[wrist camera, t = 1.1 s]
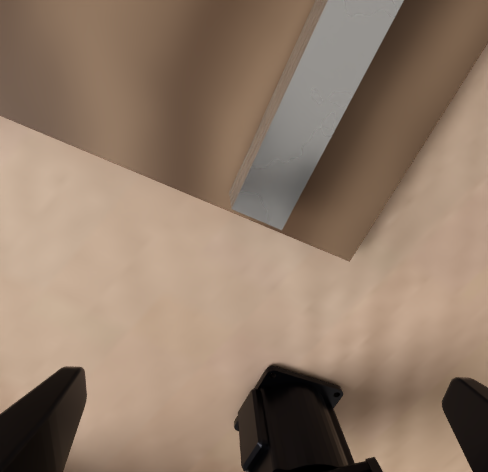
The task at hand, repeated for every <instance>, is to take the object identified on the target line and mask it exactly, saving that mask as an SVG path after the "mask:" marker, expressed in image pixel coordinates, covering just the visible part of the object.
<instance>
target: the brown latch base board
mask: <svg viewBox="0 0 488 472" xmlns="http://www.w3.org/2000/svg"><path fill="white" fill-rule="evenodd" d="M314 2H315V0H0V116H2V117H5V118H7V119H9V120H12V121H14V122H17V123H19V124H21V125H24V126H26V127H29V128H31V129H33V130H36V131H38V132H41V133H43V134H45V135H48V136H50V137H53V138H55V139H57V140H60V141H62V142H65V143H67V144H69V145H72V146H74V147H77V148H79V149H81V150H84V151H86V152H88V153H91V154H93V155H96V156H98V157H100V158H103V159H105V160H108V161H110V162H112V163H115V164H117V165H120V166H122V167H124V168H127V169H129V170H132V171H134V172H136V173H139V174H141V175H144V176H146V177H148V178H151V179H153V180H156V181H158V182H160V183H163V184H165V185H167V186H170V187H172V188H175V189H177V190H179V191H182V192H184V193H187V194H189V195H191V196H194V197H196V198H199V199H201V200H203V201H206V202H208V203H211V204H213V205H215V206H218V207H220V208H223V209H225V210H227V211H230V212H232V213H235V214H237V215H239V216H242V217H244V218H247V219H249V220H251V221H254V222H256V223H258V224H261V225H263V226H266V227H268V228H270V229H273V230H275V231H278V232H280V233H282V234H285V235H287V236H290V237H292V238H294V239H297V240H299V241H302V242H304V243H306V244H309V245H311V246H314V247H316V248H318V249H321V250H323V251H326V252H328V253H330V254H333V255H335V256H338V257H340V258H342V259H345V260H347V261H349V262H350V260H351V259H352V257H353V255H354V254H355V252H356V251H357V249H358V248H359V246H360V244H361V243H362V241H363V240H364V238H365V236H366V235H367V233H368V232H369V230H370V229H371V227H372V225H373V224H374V222H375V221H376V219H377V217H378V216H379V214H380V213H381V211H382V210H383V208H384V206H385V205H386V203H387V202H388V200H389V198H390V197H391V195H392V194H393V192H394V191H395V189H396V187H397V186H398V184H399V183H400V181H401V179H402V178H403V176H404V175H405V173H406V172H407V170H408V168H409V167H410V165H411V164H412V162H413V160H414V159H415V157H416V156H417V154H418V152H419V151H420V149H421V148H422V146H423V145H424V143H425V141H426V140H427V138H428V137H429V135H430V133H431V132H432V130H433V129H434V127H435V126H436V124H437V122H438V121H439V119H440V118H441V116H442V114H443V113H444V111H445V110H446V108H447V107H448V105H449V103H450V102H451V100H452V99H453V97H454V95H455V94H456V92H457V91H458V89H459V88H460V86H461V84H462V83H463V81H464V80H465V78H466V76H467V75H468V73H469V72H470V70H471V69H472V67H473V65H474V64H475V62H476V61H477V59H478V57H479V56H480V54H481V53H482V51H483V50H484V48H485V46H486V45H487V43H488V0H404V1H403V3H402V5H401V7H400V9H399V10H398V12H397V14H396V16H395V18H394V20H393V22H392V24H391V26H390V27H389V29H388V31H387V33H386V35H385V37H384V39H383V41H382V43H381V44H380V46H379V48H378V50H377V52H376V54H375V56H374V58H373V59H372V61H371V63H370V65H369V67H368V69H367V71H366V73H365V75H364V76H363V78H362V80H361V82H360V84H359V86H358V88H357V90H356V92H355V93H354V95H353V97H352V99H351V101H350V103H349V105H348V107H347V108H346V110H345V112H344V114H343V116H342V118H341V120H340V122H339V124H338V125H337V127H336V129H335V131H334V133H333V135H332V137H331V139H330V141H329V142H328V144H327V146H326V148H325V150H324V152H323V154H322V156H321V157H320V159H319V161H318V163H317V165H316V167H315V169H314V171H313V173H312V174H311V176H310V178H309V180H308V182H307V184H306V186H305V188H304V190H303V191H302V193H301V195H300V197H299V199H298V201H297V203H296V205H295V206H294V208H293V210H292V212H291V214H290V216H289V218H288V220H287V222H286V223H285V225H284V227H283V229H282V230H280V229H278V228H275V227H273V226H271V225H268V224H266V223H263V222H261V221H259V220H256V219H254V218H252V217H249V216H247V215H244V214H242V213H240V212H237V211H235V210H233V209H231V202H230V196H229V191H230V189H231V187H232V184H233V182H234V180H235V178H236V175H237V173H238V171H239V169H240V167H241V164H242V162H243V160H244V158H245V156H246V153H247V151H248V149H249V147H250V144H251V142H252V140H253V138H254V136H255V133H256V131H257V129H258V127H259V124H260V122H261V120H262V118H263V116H264V113H265V111H266V109H267V107H268V104H269V102H270V100H271V98H272V96H273V93H274V91H275V89H276V87H277V84H278V82H279V80H280V78H281V76H282V73H283V71H284V69H285V67H286V64H287V62H288V60H289V58H290V56H291V53H292V51H293V49H294V47H295V44H296V42H297V40H298V38H299V36H300V33H301V31H302V29H303V27H304V24H305V22H306V20H307V18H308V16H309V13H310V11H311V9H312V7H313V4H314Z"/></svg>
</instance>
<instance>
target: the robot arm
mask: <svg viewBox="0 0 488 472" xmlns="http://www.w3.org/2000/svg"><path fill="white" fill-rule="evenodd" d="M271 373H274V374H271ZM342 396H343V391H342V389H341V387H340V386H337V385H334V384H331V383H328V382H324V381H321V380H318V379H314V378H311V377H308V376H305V375H301V374H298V373H295V372H291V371H288V370H285V369H282V368H278V367H275V366H270V367H268V368H267V369H266V370H265V372H264V373H263V375H262V376H261V378H260V380H259V381H258V383H257V385H256V386H255V388H254V389H253V390H251V392H250V393H249V395H248V397H247V398H246V400H245V402H244V403H243V405H242V406H241V408H240V410H239V411H238V416H237V417H236V419H235V421H234V428H235V430H237V431H239V437H240V451H241V466H242V468H243V470H244V471H246V472H383V471H382V469H381V467H380V466H379V464H378V462H377V460H376V459H375V457H372V458H368V459H366V461H364V462H359V463H354V460H353V458H352V455H351V452H350V450H349V447H348V445H347V442H346V440H345V437H344V435H343V432H342V430H341V427H340V425H339V422H338V419H337V417H336V414H335V412H334V409H333V408H334V407H335V405H336V404H337V403H338V401H339V400H340V399H341V397H342ZM86 398H87V391H86V379H85V371H84V369H83V368H82V367H63V368H61V369H59V370H58V371H57V372H55V373H54V374H53V375H51V376H50V377H49V378H48V379H46V380H45V381H44V382H42V383H41V384H40V385H38V386H37V387H36V388H34V389H33V390H32V391H30V392H29V393H28V394H26V395H25V396H24V397H22V398H21V399H20V400H18V401H17V402H16V403H14V404H13V405H12V406H10V407H9V408H8V409H6V410H5V411H4V412H2V413H1V414H0V472H63V470H64V467H65V464H66V461H67V458H68V455H69V452H70V449H71V446H72V443H73V440H74V437H75V434H76V431H77V428H78V425H79V422H80V419H81V416H82V413H83V410H84V407H85V404H86ZM442 408H443V411H444V413H445V415H446V417H447V419H448V422H449V424H450V426H451V428H452V430H453V432H454V434H455V436H456V438H457V440H458V442H459V444H460V446H461V448H462V450H463V452H464V455H465V457H466V459H467V461H468V463H469V465H470V467H471V469H472V471H473V472H488V388H487V387H486V386H484V385H482V384H481V383H479V382H477V381H476V380H474V379H471V378H459V377H457V378H454V379H452V381H451V382H450V384H449V387H448V389H447V391H446V393H445V395H444V398H443V400H442Z"/></svg>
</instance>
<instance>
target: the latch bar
mask: <svg viewBox="0 0 488 472" xmlns="http://www.w3.org/2000/svg"><path fill="white" fill-rule="evenodd" d="M403 1H404V0H315V2H314V4H313V7H312V9H311V11H310V13H309V16H308V18H307V20H306V22H305V24H304V27H303V29H302V31H301V33H300V36H299V38H298V40H297V42H296V44H295V47H294V49H293V51H292V53H291V56H290V58H289V60H288V62H287V64H286V67H285V69H284V71H283V73H282V76H281V78H280V80H279V82H278V84H277V87H276V89H275V91H274V93H273V96H272V98H271V100H270V102H269V104H268V107H267V109H266V111H265V113H264V116H263V118H262V120H261V122H260V124H259V127H258V129H257V131H256V133H255V136H254V138H253V140H252V142H251V144H250V147H249V149H248V151H247V153H246V156H245V158H244V160H243V162H242V164H241V167H240V169H239V171H238V173H237V175H236V178H235V180H234V182H233V184H232V187H231V189H230V191H229V196H230V202H231V209H233V210H235V211H237V212H240V213H242V214H244V215H247V216H249V217H252V218H254V219H256V220H259V221H261V222H263V223H266V224H268V225H271V226H273V227H275V228H278V229H280V230H282V229H283V227H284V225H285V223H286V222H287V220H288V218H289V216H290V214H291V212H292V210H293V208H294V206H295V205H296V203H297V201H298V199H299V197H300V195H301V193H302V191H303V190H304V188H305V186H306V184H307V182H308V180H309V178H310V176H311V174H312V173H313V171H314V169H315V167H316V165H317V163H318V161H319V159H320V157H321V156H322V154H323V152H324V150H325V148H326V146H327V144H328V142H329V141H330V139H331V137H332V135H333V133H334V131H335V129H336V127H337V125H338V124H339V122H340V120H341V118H342V116H343V114H344V112H345V110H346V108H347V107H348V105H349V103H350V101H351V99H352V97H353V95H354V93H355V92H356V90H357V88H358V86H359V84H360V82H361V80H362V78H363V76H364V75H365V73H366V71H367V69H368V67H369V65H370V63H371V61H372V59H373V58H374V56H375V54H376V52H377V50H378V48H379V46H380V44H381V43H382V41H383V39H384V37H385V35H386V33H387V31H388V29H389V27H390V26H391V24H392V22H393V20H394V18H395V16H396V14H397V12H398V10H399V9H400V7H401V5H402V3H403Z"/></svg>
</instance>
